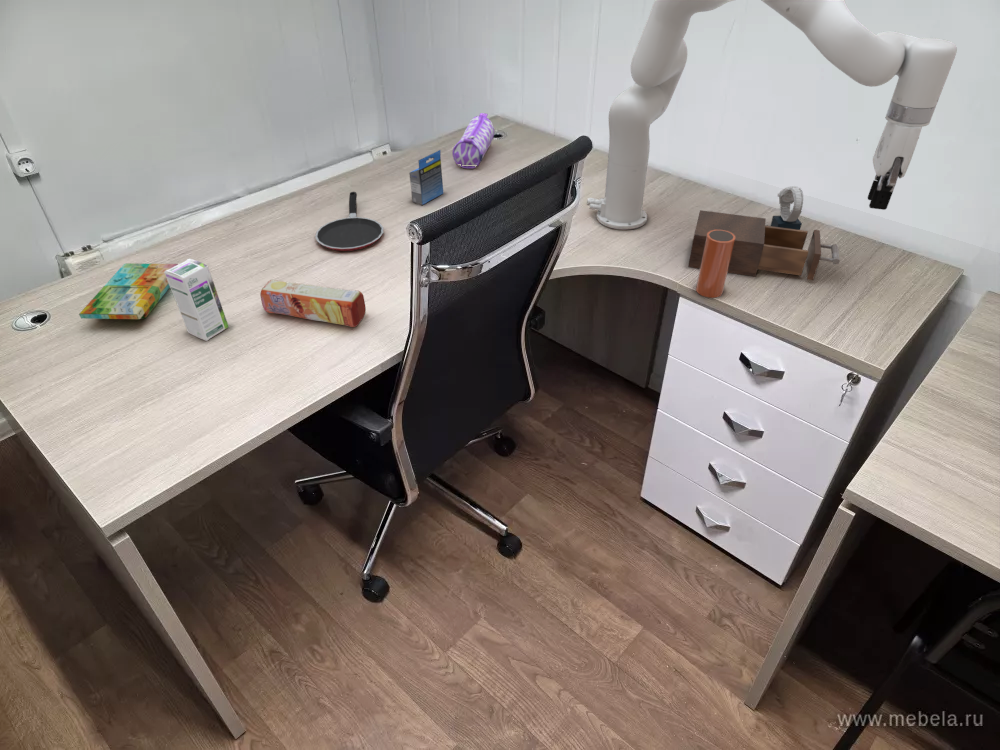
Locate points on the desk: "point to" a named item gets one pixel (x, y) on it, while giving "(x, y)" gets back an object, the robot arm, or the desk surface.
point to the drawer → (793, 251)
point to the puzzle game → (129, 292)
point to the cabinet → (745, 245)
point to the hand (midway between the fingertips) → (876, 203)
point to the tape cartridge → (427, 179)
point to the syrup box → (197, 299)
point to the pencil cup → (715, 263)
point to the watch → (785, 200)
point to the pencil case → (474, 142)
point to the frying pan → (349, 231)
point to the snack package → (314, 302)
